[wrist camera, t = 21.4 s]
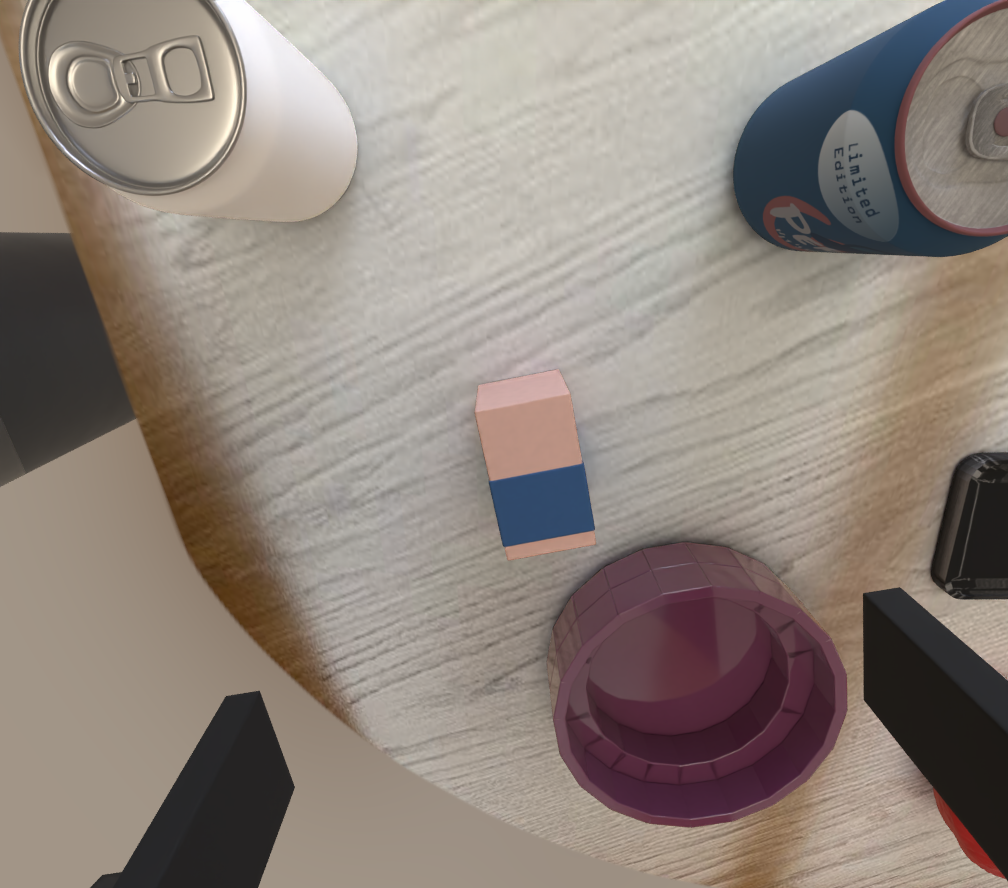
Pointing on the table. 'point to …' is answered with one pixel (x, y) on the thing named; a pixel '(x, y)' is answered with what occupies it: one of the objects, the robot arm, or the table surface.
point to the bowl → (692, 686)
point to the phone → (975, 531)
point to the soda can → (888, 142)
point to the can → (188, 106)
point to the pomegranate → (966, 838)
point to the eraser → (534, 465)
